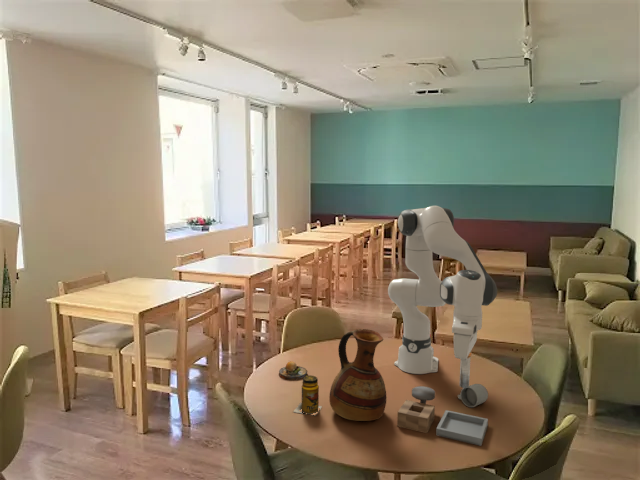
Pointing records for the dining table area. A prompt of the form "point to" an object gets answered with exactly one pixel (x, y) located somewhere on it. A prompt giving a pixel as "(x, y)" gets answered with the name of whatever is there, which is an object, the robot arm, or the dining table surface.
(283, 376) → the burger
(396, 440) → the dining table surface
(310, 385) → the condiment
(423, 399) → the block
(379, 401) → the ceramic pitcher
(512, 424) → the dining table surface
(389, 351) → the dining table surface
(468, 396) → the ceramic mug
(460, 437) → the tray
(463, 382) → the pin
